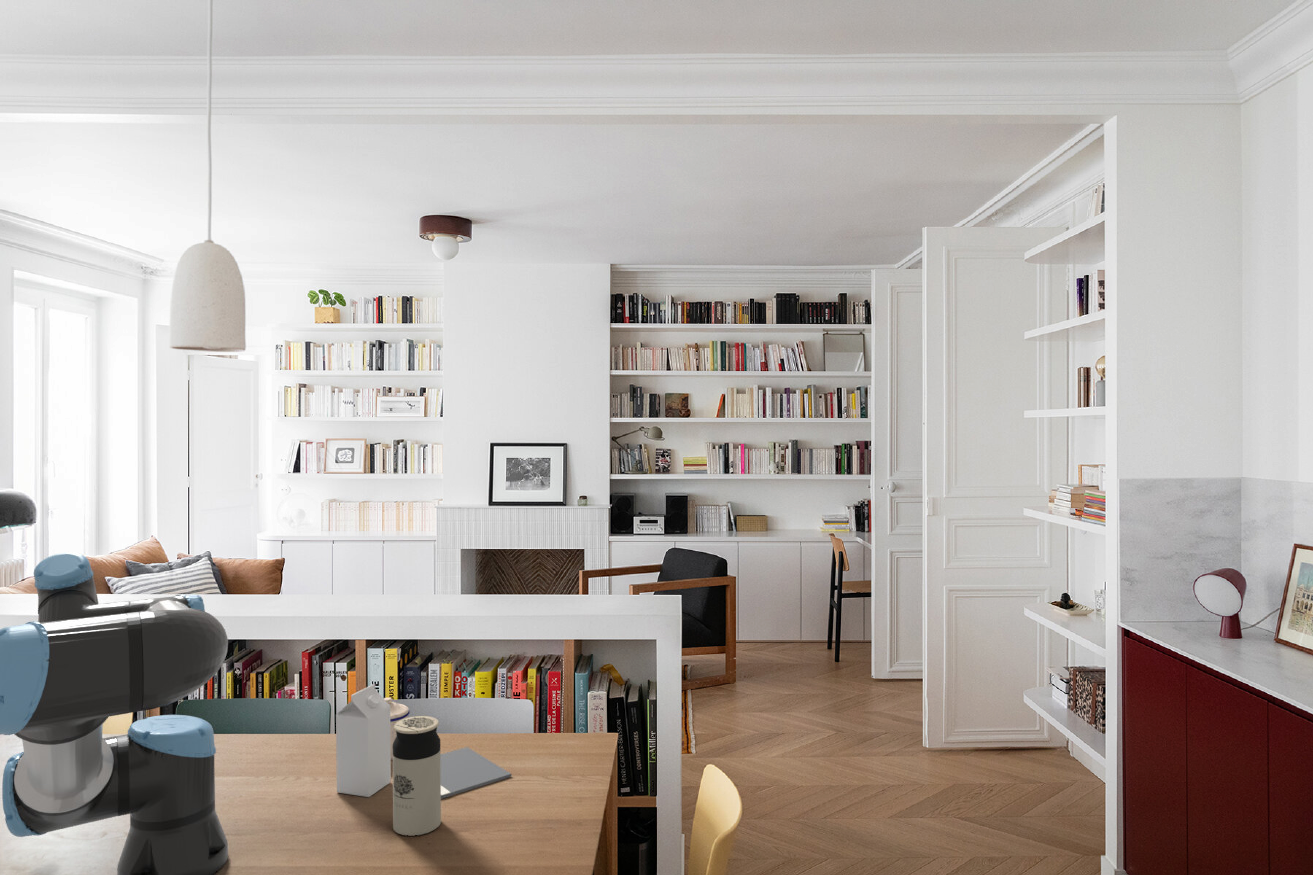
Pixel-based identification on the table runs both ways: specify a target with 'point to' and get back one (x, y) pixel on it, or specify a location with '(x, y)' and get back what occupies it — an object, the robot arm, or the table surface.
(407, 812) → the travel mug
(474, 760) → the mat
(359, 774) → the milk carton
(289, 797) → the table surface
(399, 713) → the teacup with lid
